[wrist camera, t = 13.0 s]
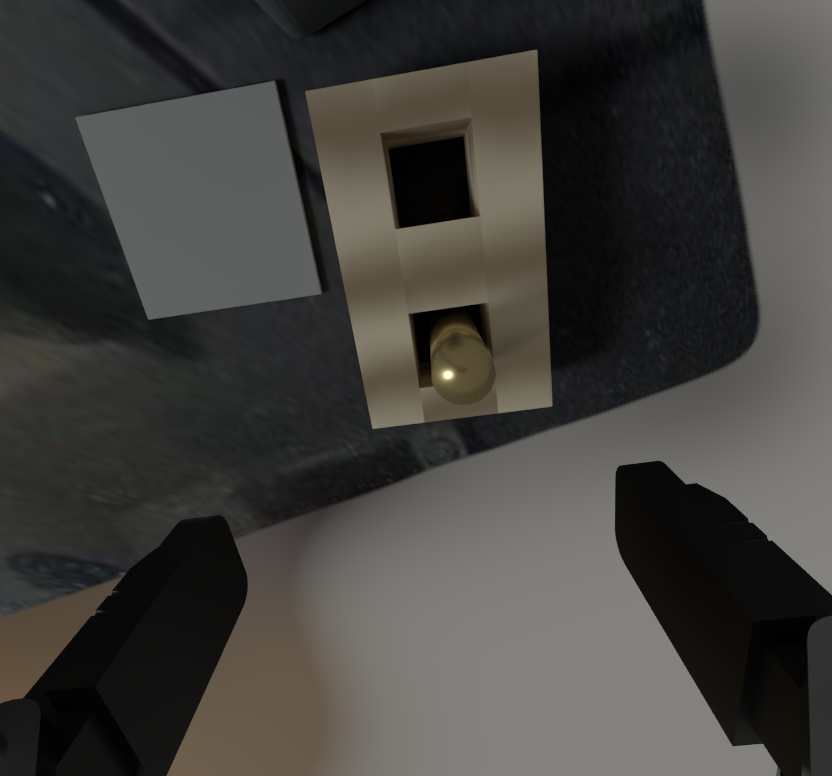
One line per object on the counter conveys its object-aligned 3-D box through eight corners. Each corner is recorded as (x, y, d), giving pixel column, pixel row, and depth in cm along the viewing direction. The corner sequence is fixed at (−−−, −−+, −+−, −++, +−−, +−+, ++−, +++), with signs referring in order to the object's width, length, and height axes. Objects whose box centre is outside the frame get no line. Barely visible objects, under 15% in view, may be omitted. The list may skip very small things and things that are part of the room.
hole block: (326, 115, 26) (305, 91, 21) (516, 81, 25) (537, 49, 20) (380, 398, 32) (372, 428, 27) (533, 378, 31) (552, 406, 26)
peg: (426, 309, 30) (427, 349, 20) (470, 302, 29) (492, 340, 20) (432, 351, 31) (435, 408, 21) (475, 346, 30) (498, 400, 21)
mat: (80, 119, 26) (75, 117, 26) (276, 83, 25) (274, 81, 25) (151, 318, 30) (148, 319, 30) (322, 293, 29) (321, 294, 29)
